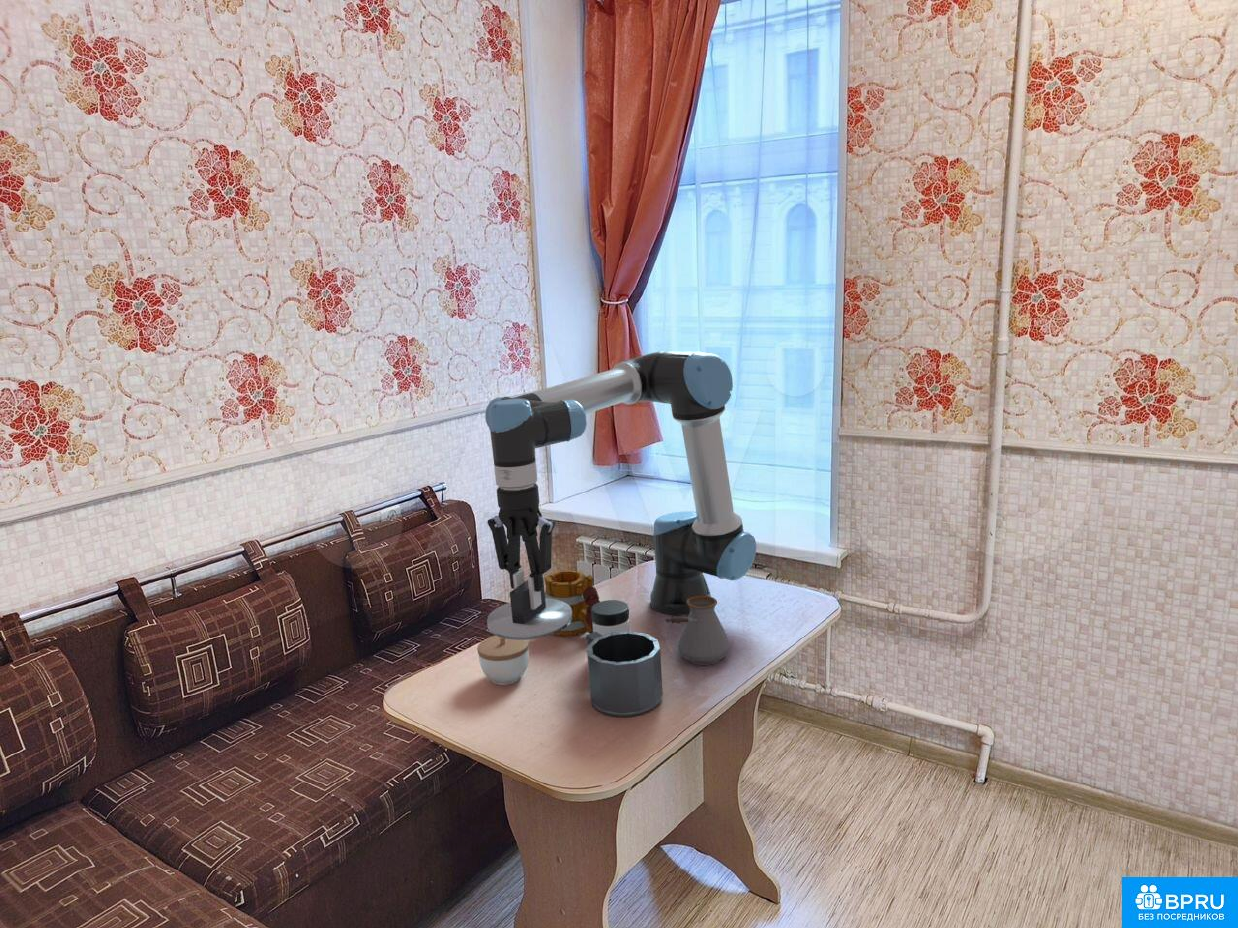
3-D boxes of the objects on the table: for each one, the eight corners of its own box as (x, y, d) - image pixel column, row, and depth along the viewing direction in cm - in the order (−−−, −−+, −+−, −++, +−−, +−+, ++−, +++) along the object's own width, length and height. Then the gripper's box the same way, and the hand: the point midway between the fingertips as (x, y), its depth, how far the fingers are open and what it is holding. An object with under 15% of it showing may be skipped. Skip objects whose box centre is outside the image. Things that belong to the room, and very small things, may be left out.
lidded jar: (540, 668, 178) (536, 628, 176) (518, 693, 168) (514, 650, 166) (495, 663, 182) (491, 624, 180) (471, 687, 172) (467, 646, 170)
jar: (605, 671, 175) (602, 618, 172) (585, 657, 182) (582, 607, 179) (640, 658, 180) (637, 607, 177) (619, 645, 187) (616, 596, 184)
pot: (621, 666, 177) (618, 619, 174) (676, 699, 162) (673, 648, 159) (565, 688, 169) (561, 639, 166) (618, 725, 154) (614, 671, 152)
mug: (569, 613, 206) (564, 556, 202) (617, 630, 195) (613, 570, 191) (536, 628, 198) (531, 570, 195) (583, 647, 187) (579, 585, 184)
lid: (517, 604, 167) (513, 566, 165) (587, 613, 160) (584, 573, 158) (471, 638, 153) (466, 596, 151) (546, 649, 146) (542, 606, 144)
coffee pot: (692, 641, 187) (690, 578, 183) (739, 651, 181) (737, 586, 177) (644, 683, 169) (640, 615, 166) (694, 695, 163) (691, 625, 160)
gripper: (469, 488, 150) (483, 608, 156) (544, 493, 144) (555, 618, 149) (492, 477, 157) (504, 593, 162) (564, 482, 150) (574, 602, 156)
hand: (528, 605), depth 156 cm, fingers closed on lid, 2 cm apart
